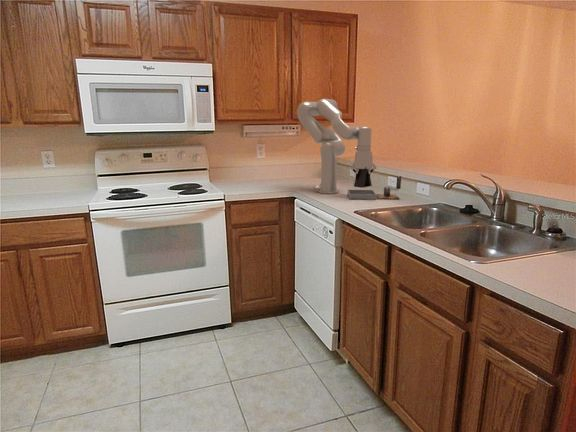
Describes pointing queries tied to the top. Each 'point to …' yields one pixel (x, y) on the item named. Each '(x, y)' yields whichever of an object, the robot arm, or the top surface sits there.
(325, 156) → the robot arm
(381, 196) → the crank base
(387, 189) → the crank
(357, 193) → the tray
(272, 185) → the top surface
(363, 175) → the door stopper
